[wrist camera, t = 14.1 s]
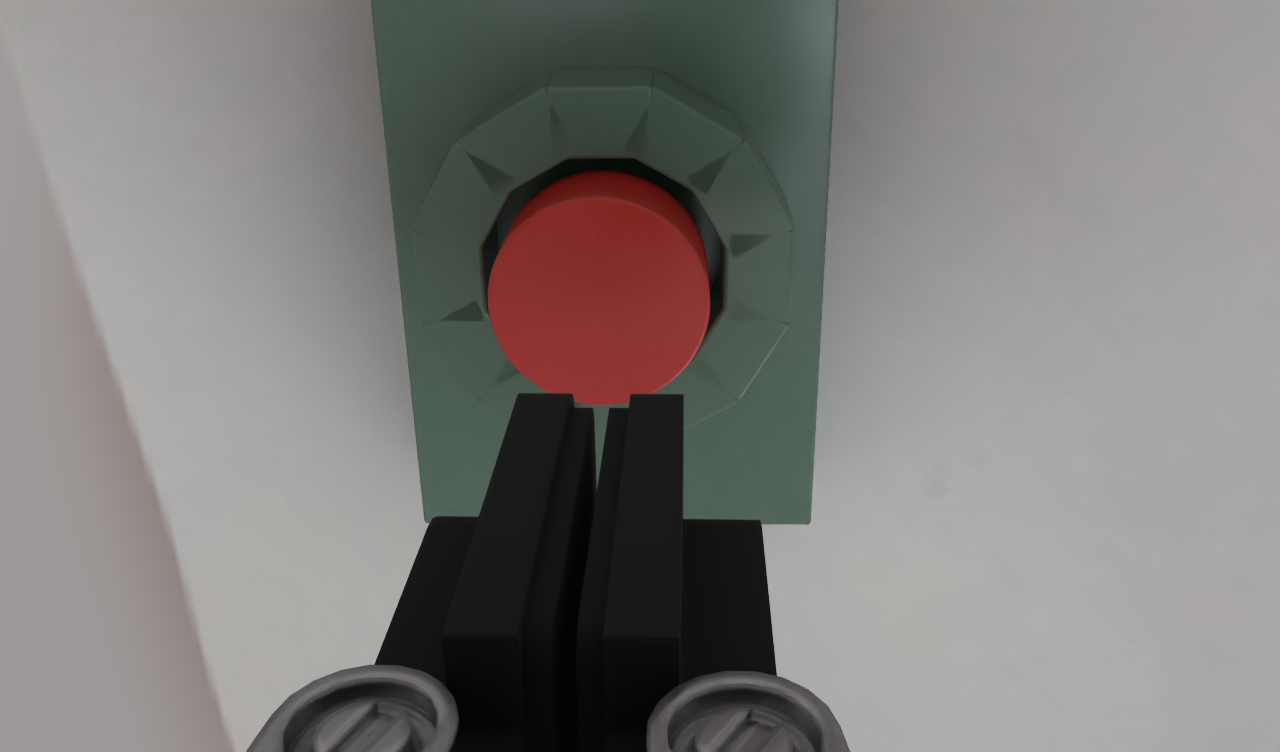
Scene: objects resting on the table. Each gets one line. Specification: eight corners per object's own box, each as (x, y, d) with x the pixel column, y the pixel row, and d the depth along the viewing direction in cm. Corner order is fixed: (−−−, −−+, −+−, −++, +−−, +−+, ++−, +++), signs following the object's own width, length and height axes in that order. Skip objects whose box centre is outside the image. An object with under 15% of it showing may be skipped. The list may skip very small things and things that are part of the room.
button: (495, 169, 20) (479, 197, 18) (709, 168, 19) (712, 196, 18) (508, 364, 21) (493, 407, 19) (706, 365, 21) (709, 407, 19)
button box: (389, -104, 21) (329, -96, 18) (828, -110, 21) (860, -104, 17) (443, 472, 26) (405, 572, 22) (800, 473, 26) (820, 574, 22)
